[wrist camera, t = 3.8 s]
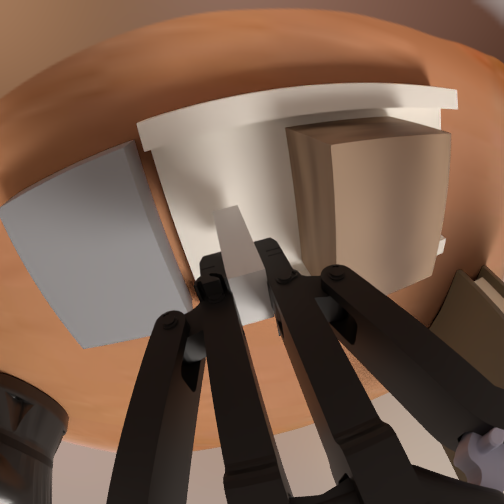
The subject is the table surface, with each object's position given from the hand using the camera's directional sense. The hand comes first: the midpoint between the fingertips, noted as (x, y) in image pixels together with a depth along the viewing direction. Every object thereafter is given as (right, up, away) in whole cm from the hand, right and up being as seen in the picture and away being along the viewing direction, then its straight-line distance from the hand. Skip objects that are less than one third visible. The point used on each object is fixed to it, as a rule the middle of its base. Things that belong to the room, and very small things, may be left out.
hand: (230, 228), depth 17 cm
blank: (+8, +3, +2) cm, 9 cm away
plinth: (-9, -1, +1) cm, 10 cm away
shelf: (+7, +3, +3) cm, 8 cm away
